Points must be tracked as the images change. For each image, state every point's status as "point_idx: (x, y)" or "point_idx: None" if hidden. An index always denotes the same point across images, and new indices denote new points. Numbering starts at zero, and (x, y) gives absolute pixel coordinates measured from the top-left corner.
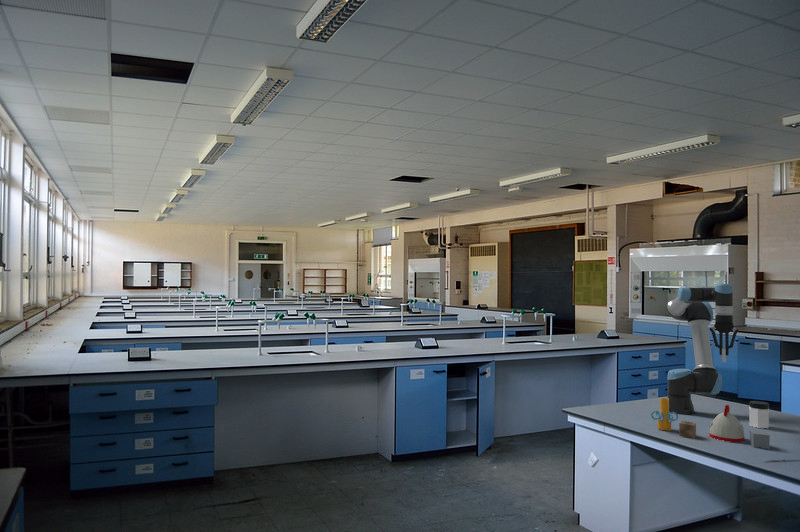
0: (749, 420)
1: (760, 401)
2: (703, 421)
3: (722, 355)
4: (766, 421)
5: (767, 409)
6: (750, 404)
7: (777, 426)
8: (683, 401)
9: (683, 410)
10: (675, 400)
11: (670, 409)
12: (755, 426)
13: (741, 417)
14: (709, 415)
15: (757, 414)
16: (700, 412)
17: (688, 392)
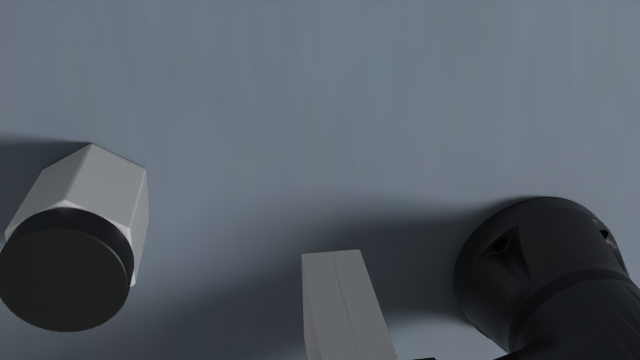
0: (141, 184)
1: (66, 327)
2: (392, 99)
3: (380, 334)
4: (37, 185)
5: (8, 238)
6: (119, 243)
7: None
8: (540, 262)
9: (516, 218)
10: (587, 252)
11: (584, 210)
12: (106, 152)
13: (225, 345)
14: (376, 278)
15: (75, 182)
16: (425, 315)
17: (537, 328)
